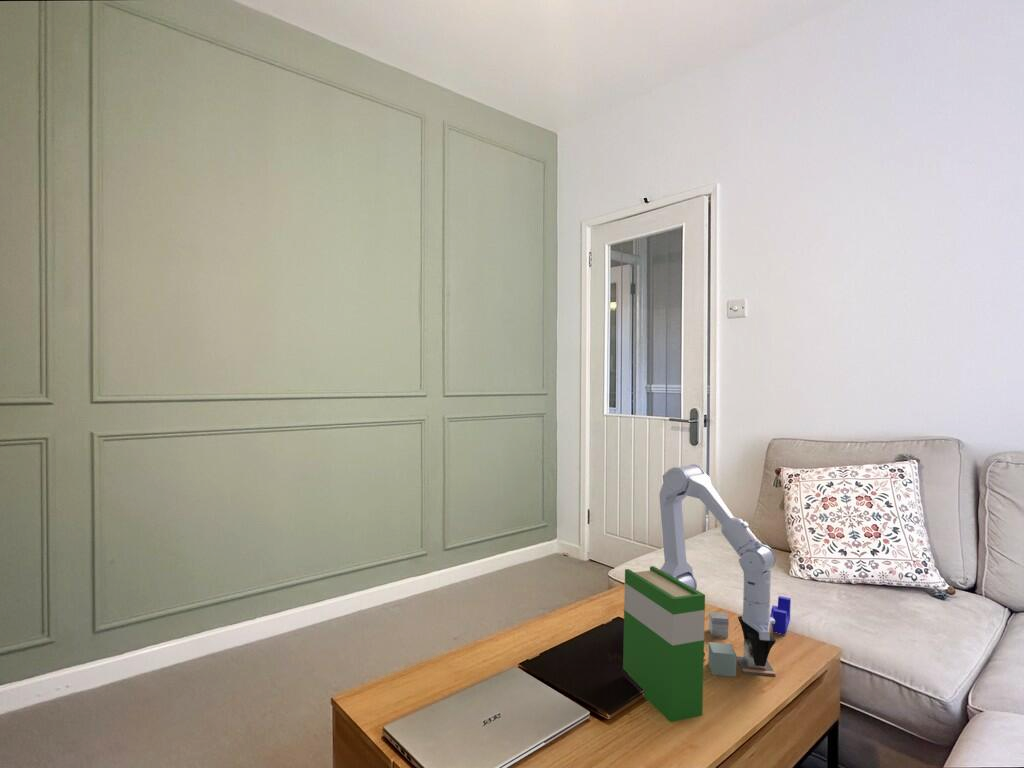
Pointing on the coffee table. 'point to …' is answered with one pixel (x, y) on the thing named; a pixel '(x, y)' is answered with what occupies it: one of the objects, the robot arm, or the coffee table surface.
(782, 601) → the cable clip
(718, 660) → the block
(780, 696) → the coffee table surface
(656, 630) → the hardback book
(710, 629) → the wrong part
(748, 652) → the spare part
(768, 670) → the pad
